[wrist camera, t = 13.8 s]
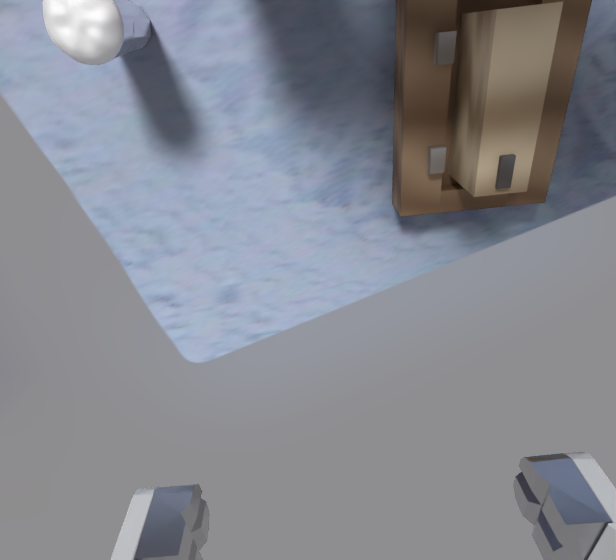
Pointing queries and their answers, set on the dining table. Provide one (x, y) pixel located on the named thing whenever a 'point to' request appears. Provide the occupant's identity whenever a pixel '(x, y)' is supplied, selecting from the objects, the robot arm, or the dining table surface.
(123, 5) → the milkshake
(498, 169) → the door
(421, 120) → the frame
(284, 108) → the dining table surface
